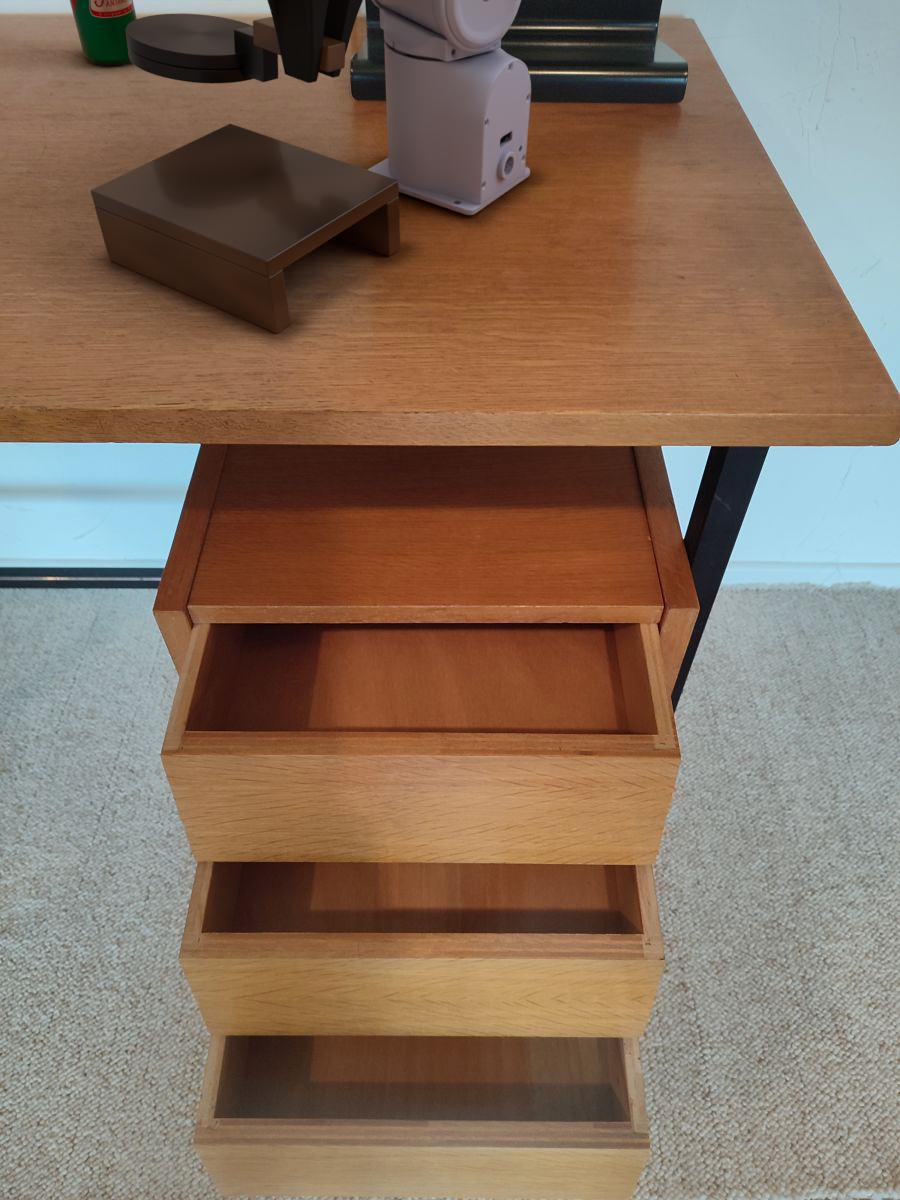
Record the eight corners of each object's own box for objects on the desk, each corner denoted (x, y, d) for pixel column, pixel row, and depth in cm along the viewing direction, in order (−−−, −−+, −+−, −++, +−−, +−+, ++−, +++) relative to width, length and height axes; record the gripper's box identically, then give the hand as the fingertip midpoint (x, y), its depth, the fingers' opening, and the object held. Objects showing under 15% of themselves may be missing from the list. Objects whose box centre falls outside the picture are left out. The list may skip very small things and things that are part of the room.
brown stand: (400, 249, 60) (398, 179, 56) (276, 334, 53) (266, 261, 50) (240, 189, 65) (229, 122, 62) (109, 260, 58) (89, 189, 55)
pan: (98, 53, 59) (89, -14, 57) (201, 32, 65) (197, -30, 62) (285, 127, 54) (285, 56, 51) (380, 98, 60) (384, 33, 57)
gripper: (350, -225, 53) (337, 42, 62) (155, -244, 44) (175, 73, 53) (450, -202, 51) (422, 71, 60) (267, -218, 41) (267, 110, 51)
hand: (312, 75), depth 56 cm, fingers closed on pan
